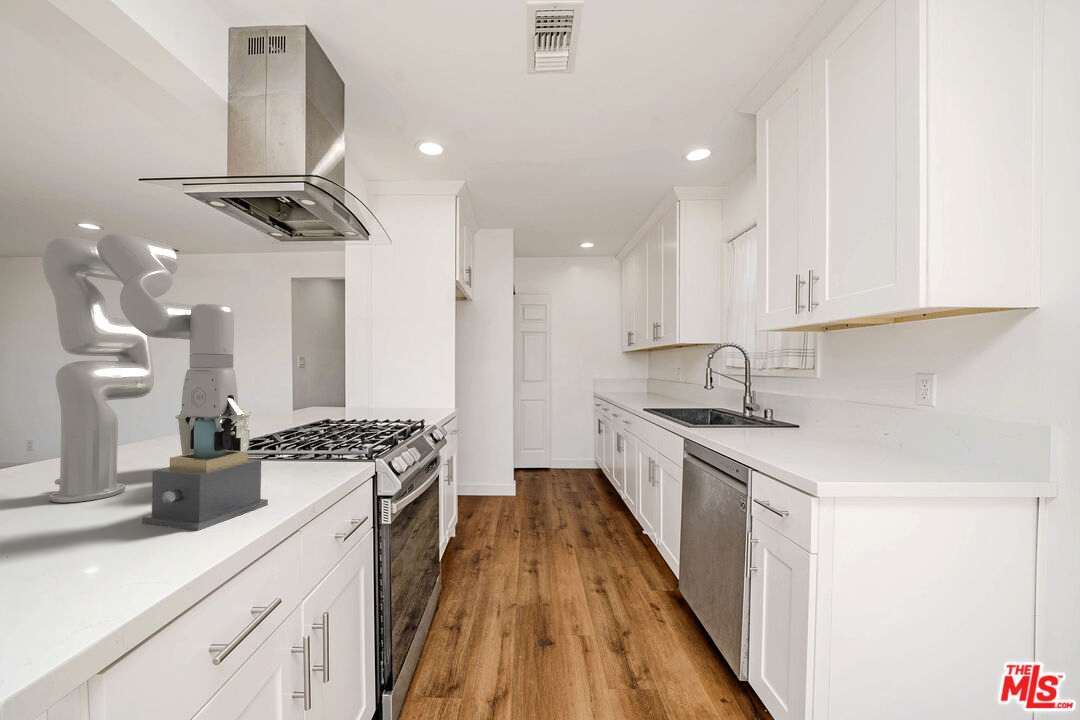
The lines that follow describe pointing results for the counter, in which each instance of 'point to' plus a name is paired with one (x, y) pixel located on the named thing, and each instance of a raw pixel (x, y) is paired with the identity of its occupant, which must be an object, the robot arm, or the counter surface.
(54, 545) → the counter surface
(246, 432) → the cream boxy piece
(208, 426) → the drain pump
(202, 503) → the grey box
